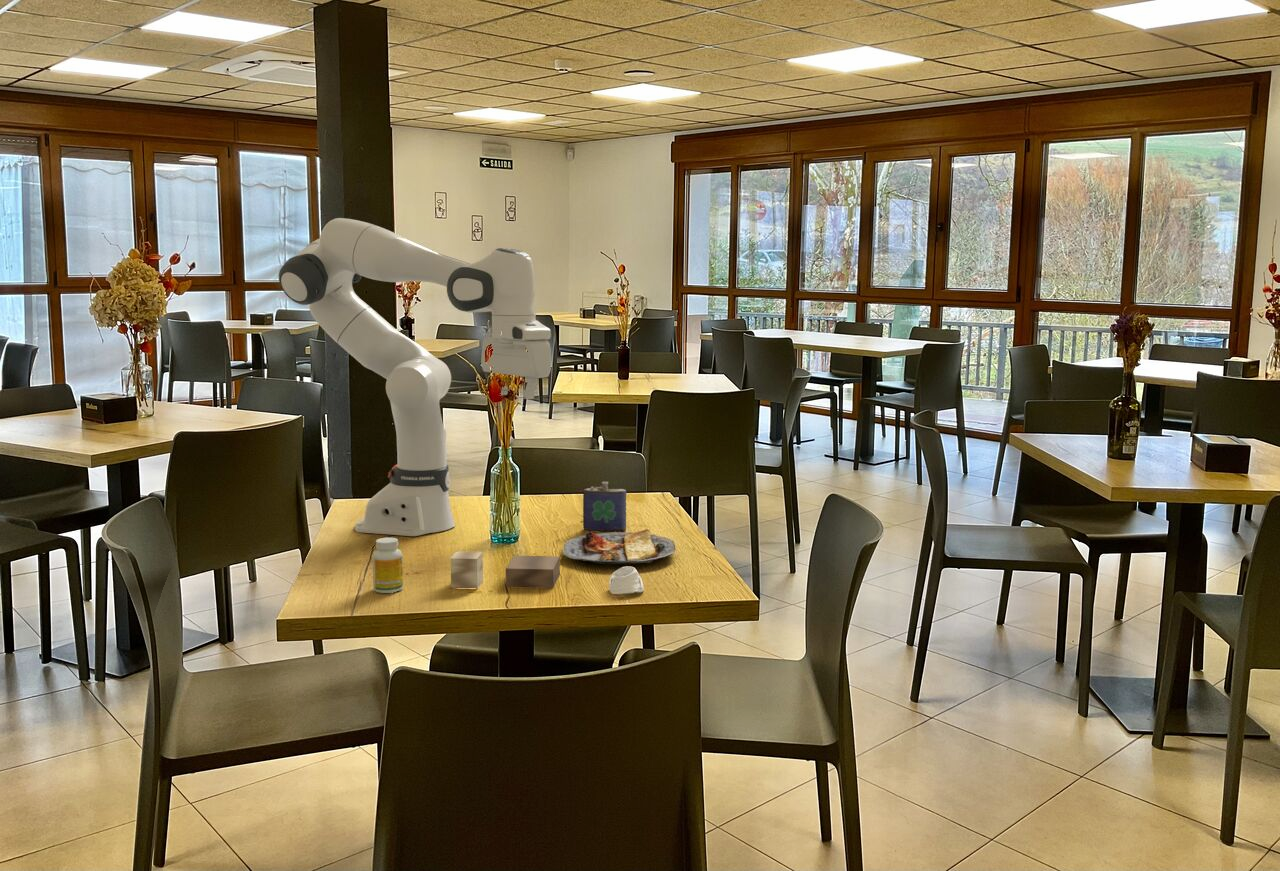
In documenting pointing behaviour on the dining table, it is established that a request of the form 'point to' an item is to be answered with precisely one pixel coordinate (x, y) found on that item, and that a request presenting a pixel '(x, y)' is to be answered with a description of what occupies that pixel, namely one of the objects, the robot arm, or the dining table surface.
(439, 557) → the dining table surface
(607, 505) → the flask
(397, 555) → the supplement bottle
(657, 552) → the food plate
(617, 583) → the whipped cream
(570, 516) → the dining table surface
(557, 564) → the walnut block
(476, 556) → the tan piece
